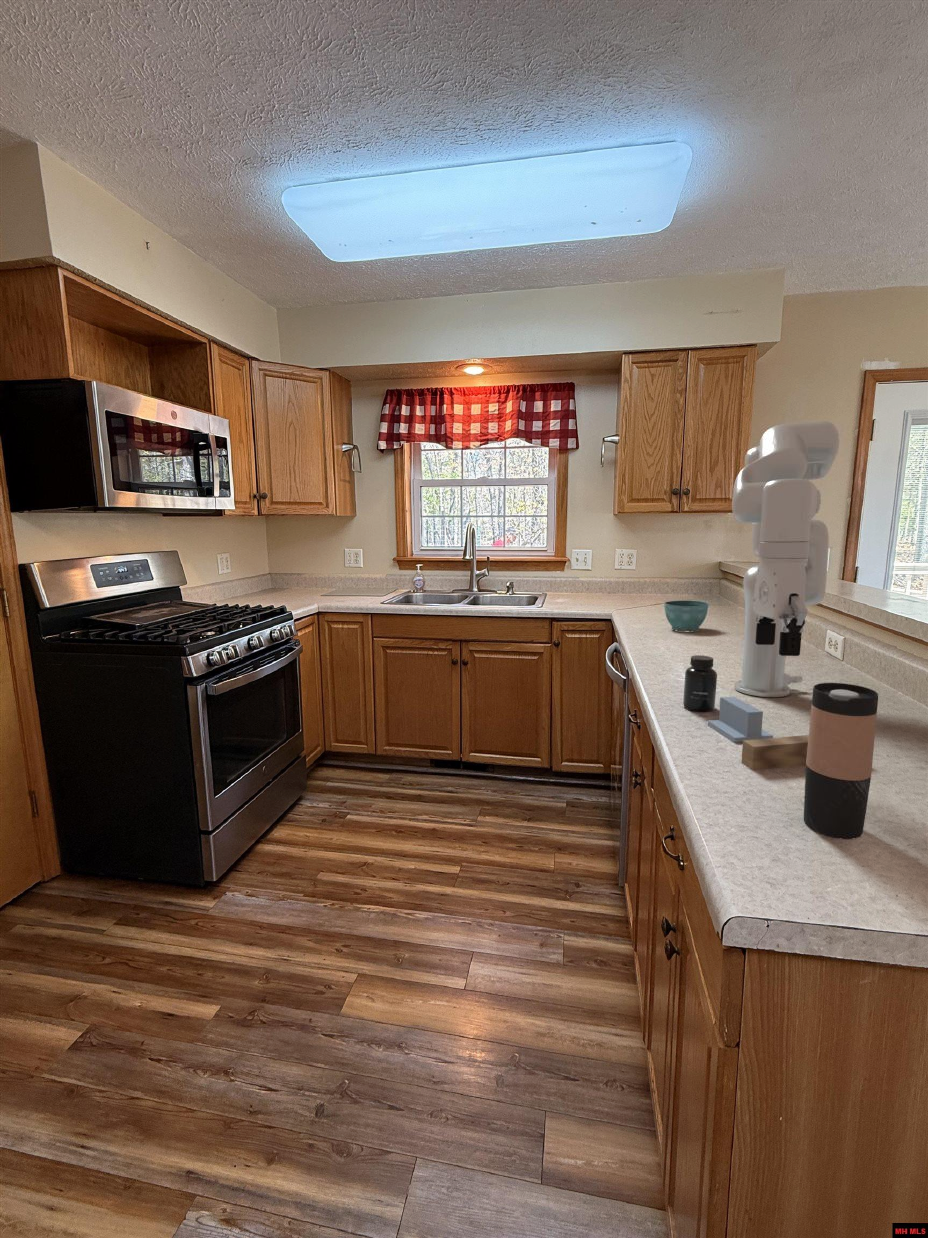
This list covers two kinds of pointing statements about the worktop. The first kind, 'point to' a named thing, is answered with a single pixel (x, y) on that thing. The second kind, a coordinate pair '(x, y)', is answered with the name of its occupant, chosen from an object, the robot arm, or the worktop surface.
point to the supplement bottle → (700, 685)
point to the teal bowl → (686, 614)
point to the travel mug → (839, 758)
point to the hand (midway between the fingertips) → (776, 649)
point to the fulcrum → (739, 721)
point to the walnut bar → (775, 752)
